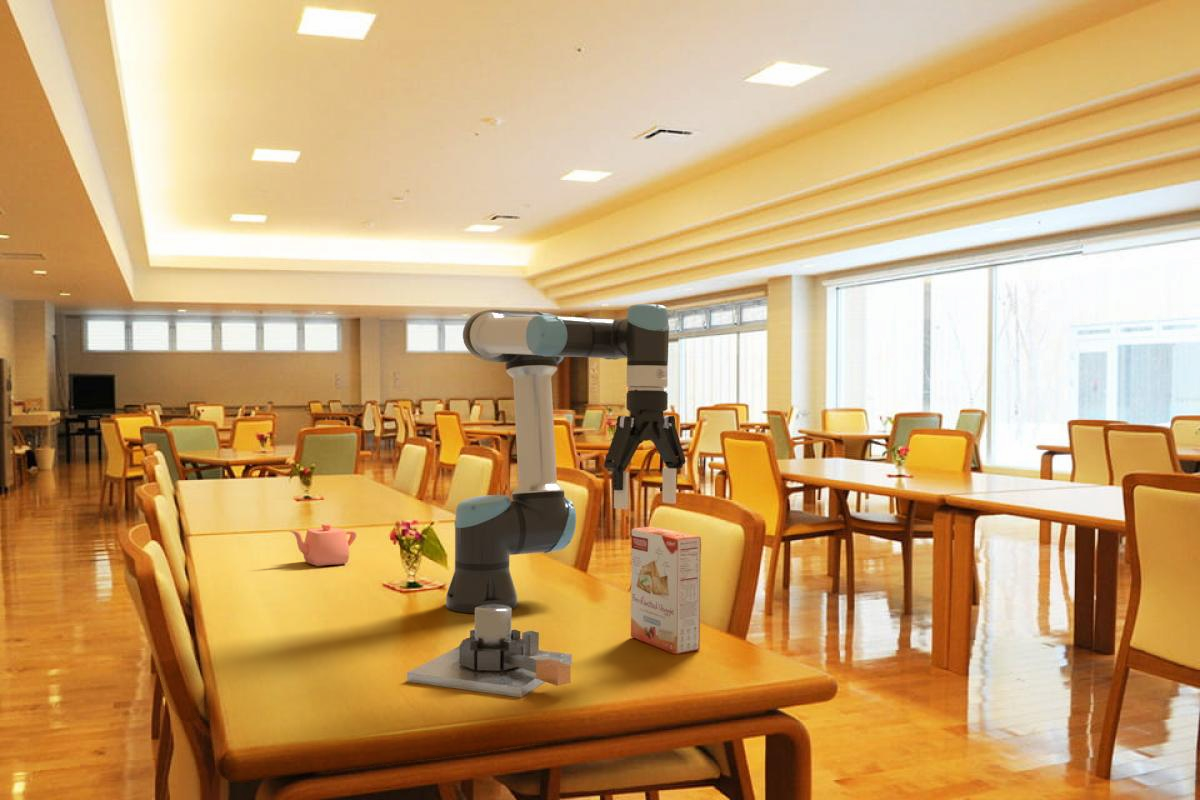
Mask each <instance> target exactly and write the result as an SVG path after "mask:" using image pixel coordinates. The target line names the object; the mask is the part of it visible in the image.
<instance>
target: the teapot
mask: <svg viewBox="0 0 1200 800" xmlns="http://www.w3.org/2000/svg"><path fill="white" fill-rule="evenodd" d="M289 532H290V533H292V534H293V535H294V536H295V538H296V543H297V548H298V550H299V551H300V552H301V553H302V554H303V559H304V561H305V562H307V564H309V565H313V566H315V567H318V566H319V567H324V566H330V565H333V566H340V565H342V564H347V563H348V562H349V560H350V546H351V545H352V544H353V542H355V540H356V538H357V534H358V533H357V531H355V530H344V529H341V528H338V527H332V524H331V523H324V524H321V527H320V528H319V527H318V528H308V529H307V531H306V535H305V538H304V539H303V536H302V534H301V533H300V532H299V531H297V530H289ZM347 535H349V538H348V536H347Z"/></svg>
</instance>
